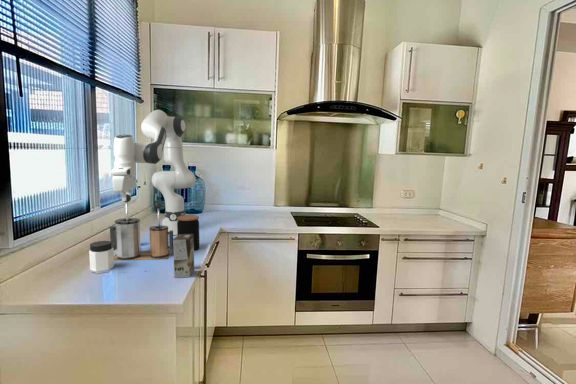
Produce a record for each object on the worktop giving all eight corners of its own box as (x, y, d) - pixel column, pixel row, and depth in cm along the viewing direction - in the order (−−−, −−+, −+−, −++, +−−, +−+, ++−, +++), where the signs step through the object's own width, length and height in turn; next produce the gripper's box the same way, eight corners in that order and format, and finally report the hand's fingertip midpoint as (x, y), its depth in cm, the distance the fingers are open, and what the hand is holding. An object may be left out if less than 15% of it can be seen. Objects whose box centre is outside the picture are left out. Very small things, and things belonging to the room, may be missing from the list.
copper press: (153, 253, 161) (152, 225, 159) (174, 252, 162) (174, 225, 160) (148, 258, 153) (147, 229, 151) (171, 257, 154) (170, 229, 153)
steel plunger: (122, 237, 157) (120, 193, 155) (138, 237, 158) (136, 193, 156) (117, 241, 150) (115, 195, 148) (133, 241, 151) (132, 195, 149)
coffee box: (189, 277, 134) (189, 239, 132) (173, 277, 133) (172, 239, 131) (194, 269, 143) (193, 233, 141) (179, 269, 142) (178, 233, 140)
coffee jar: (191, 246, 176) (190, 214, 174) (203, 250, 170) (203, 216, 168) (173, 251, 168) (172, 216, 166) (185, 255, 162) (184, 219, 159)
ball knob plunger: (154, 236, 159) (153, 200, 157) (166, 236, 160) (165, 200, 157) (151, 239, 153) (150, 202, 151) (164, 239, 154) (163, 202, 152)
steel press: (116, 253, 159) (114, 218, 157) (143, 252, 161) (141, 217, 159) (108, 260, 149) (106, 222, 147) (136, 259, 151) (135, 222, 149)
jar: (99, 266, 144) (97, 240, 143) (117, 267, 144) (116, 240, 143) (86, 274, 135) (84, 246, 134) (106, 274, 135) (104, 246, 134)
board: (119, 254, 162) (119, 251, 162) (173, 252, 166) (173, 250, 166) (108, 263, 148) (108, 260, 148) (168, 261, 152) (167, 259, 152)
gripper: (125, 169, 160) (126, 197, 162) (109, 171, 140) (110, 203, 142) (139, 169, 161) (140, 197, 163) (125, 171, 141) (126, 203, 143)
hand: (126, 200), depth 152 cm, fingers closed on steel plunger, 4 cm apart
